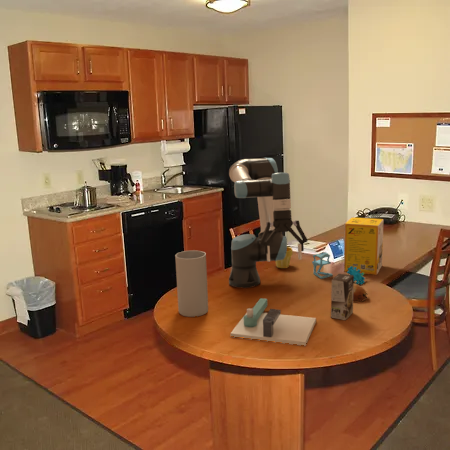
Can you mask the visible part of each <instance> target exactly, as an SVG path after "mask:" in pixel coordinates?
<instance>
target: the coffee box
mask: <svg viewBox="0 0 450 450" xmlns="http://www.w3.org/2000/svg"><path fill="white" fill-rule="evenodd" d="M353 284H355V281H354V275H350V274H348V273H347V274H345V273H338V274H337V275H336V276H334V277H333V278H331V292H330V293H331V294H330V298H331V299H330V300H331V302H330V303H331V304H330V307H331V308H330V318H333V319H336V320H342V321H346V320H348V318H349V317H350V316H352V314H353V312H354V301H353Z"/></svg>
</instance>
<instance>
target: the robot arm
mask: <svg viewBox="0 0 450 450" xmlns="http://www.w3.org/2000/svg"><path fill="white" fill-rule="evenodd" d="M278 171H279V169H278V165H277V162H276V160H275V159H274V158H273V157H261V158H243V159H239V160H237V161H236V162H234V163H233V164H232V165H230V167H229V170H228V176H229V178H230V180H231V182H233V183H234V185H233V187H234V189H233V191H234V196H235V198H237V199H246V198H247V199H248V198H250V199H251V198H257V204H258V205H257V207H258V215H259V224H260V232H259V233H258V237H257V236H256V235H255V234H253V233H250V234H249V233H246V234H241V235H237V236H235V237H233V238H232V240H231V247H230V249H231V271H230V272H229V273H230V274H229V277H228V284H229V286H231V287H234V288H238V289H239V288H241V289H246V288H247V289H248V288H254V287H256V286H259V284H261V277H260V274H259V272H258V268H257V262H275V261H277V260H283V259H284V258H285V256H286V251H287V247H288V238H287V236H286V235H283V233H287V232H289V233H290V235H292V236H293V237H294V239H295V240H296V241H297V242H298V243H297V255H298V256H297V257H298V258H297V259H298V260H299V261H300V260H303V256H302V255H303V252H304V250H305V248H304V244H305V243H308V241H309V240H308V238H307V236H306V234H305V232H304V231H303V229H302V227H301V224H300V221H299V220H294V221H292V220H293V219H292V210H291V209H292V202H291V201H292V200H291V179H290V178H291V177H290V174H289V173H288V172H278ZM292 226H295V228H296V230H297V231H298V233H299V235H298V234H297V232H295V230H294V229H293V228H292Z"/></svg>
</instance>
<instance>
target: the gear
mask: <svg viewBox="0 0 450 450" xmlns="http://www.w3.org/2000/svg"><path fill="white" fill-rule="evenodd" d="M356 269H357V268H356V267H354V270H353V267H352V266H351V267H350V268H348V270H349V271H348V272H346V273H347V275H354V282H355V284H357V285H359V286H362V285H363V284H364V283H365V282H366V281H365V280H366V278H365V277H364V275H365V274H364V272H363V273H359V272H360V269H358V270H357V271H356Z"/></svg>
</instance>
